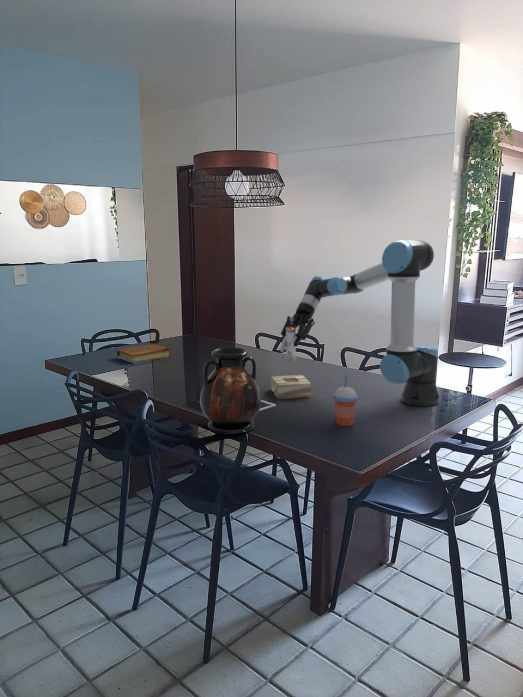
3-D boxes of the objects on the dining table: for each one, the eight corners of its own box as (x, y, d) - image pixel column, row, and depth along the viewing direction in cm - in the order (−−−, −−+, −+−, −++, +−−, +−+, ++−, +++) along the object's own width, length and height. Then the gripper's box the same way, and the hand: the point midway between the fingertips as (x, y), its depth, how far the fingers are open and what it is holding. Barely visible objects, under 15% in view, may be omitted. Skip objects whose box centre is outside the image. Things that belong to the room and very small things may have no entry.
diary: (153, 353, 316) (152, 343, 315) (170, 358, 302) (170, 348, 301) (117, 359, 301) (116, 349, 300) (133, 365, 287) (133, 354, 286)
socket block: (310, 396, 228) (310, 383, 227) (278, 398, 226) (278, 385, 224) (302, 387, 242) (302, 374, 240) (271, 389, 239) (271, 376, 238)
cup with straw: (354, 418, 201) (356, 372, 197) (359, 427, 192) (361, 378, 188) (330, 419, 200) (331, 372, 197) (334, 427, 191) (335, 378, 188)
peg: (296, 360, 229) (296, 328, 226) (287, 361, 228) (287, 328, 225) (294, 358, 233) (294, 326, 230) (284, 359, 232) (284, 326, 229)
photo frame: (246, 394, 229) (275, 404, 216) (246, 397, 230) (275, 406, 217) (219, 402, 219) (248, 412, 207) (219, 404, 220) (248, 415, 207)
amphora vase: (249, 414, 206) (248, 342, 200) (270, 433, 186) (270, 354, 180) (194, 422, 198) (191, 347, 193) (210, 442, 179) (208, 360, 173)
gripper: (327, 314, 234) (306, 358, 224) (294, 311, 244) (272, 353, 234) (320, 303, 229) (299, 348, 219) (287, 300, 239) (265, 343, 229)
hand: (285, 350), depth 227 cm, fingers closed on peg, 4 cm apart
